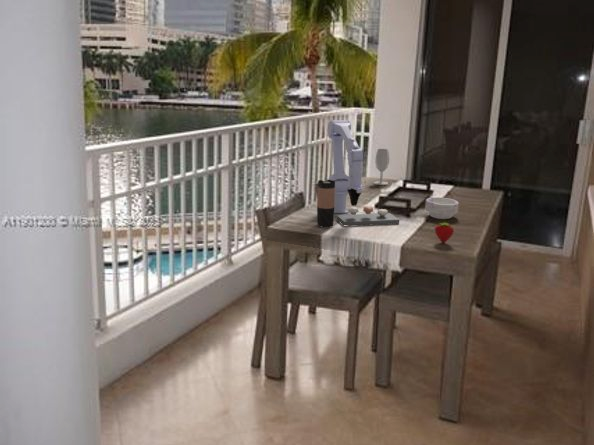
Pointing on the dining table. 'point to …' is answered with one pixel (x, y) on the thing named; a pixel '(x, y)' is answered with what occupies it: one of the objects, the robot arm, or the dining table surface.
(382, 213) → the outer button
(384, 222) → the grey flat board
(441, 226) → the strawberry
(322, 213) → the travel mug
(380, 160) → the wineglass
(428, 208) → the paper bowls
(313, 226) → the dining table surface
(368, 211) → the middle button
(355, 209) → the inner button
